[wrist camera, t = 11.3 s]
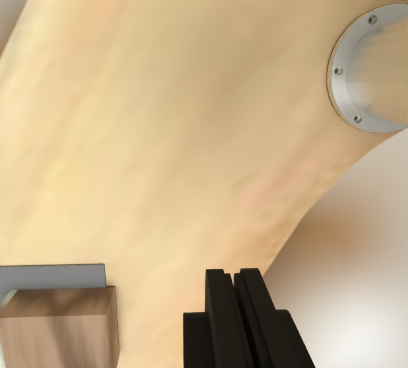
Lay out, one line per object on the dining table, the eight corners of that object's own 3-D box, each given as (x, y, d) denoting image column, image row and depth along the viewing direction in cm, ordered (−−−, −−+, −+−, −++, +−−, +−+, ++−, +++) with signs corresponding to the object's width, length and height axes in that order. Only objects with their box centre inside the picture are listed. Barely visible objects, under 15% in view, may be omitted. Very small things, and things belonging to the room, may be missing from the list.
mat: (104, 263, 40) (100, 273, 38) (112, 371, 45) (109, 384, 43) (-29, 266, 39) (-40, 276, 37) (-6, 376, 44) (-14, 390, 42)
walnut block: (106, 314, 36) (-12, 318, 35) (112, 388, 39) (3, 393, 38) (114, 287, 41) (10, 289, 40) (119, 354, 44) (22, 358, 43)
